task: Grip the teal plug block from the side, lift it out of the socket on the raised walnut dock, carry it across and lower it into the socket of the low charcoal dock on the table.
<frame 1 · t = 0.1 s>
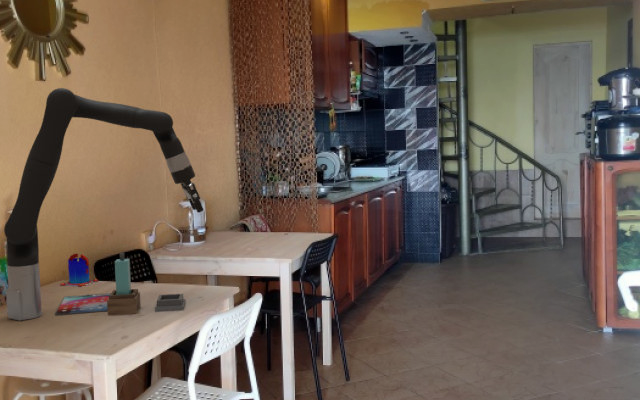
hand: (198, 210, 223), 31 cm above the table, tool tilted 20°, fingers open, 8 cm apart
plug block: (123, 295, 211), point 5 cm above the table, touching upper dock
lower dock: (170, 307, 215), on the table
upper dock: (124, 310, 211), on the table
fantasy tower: (79, 283, 252), on the table
tablet: (88, 305, 221), on the table
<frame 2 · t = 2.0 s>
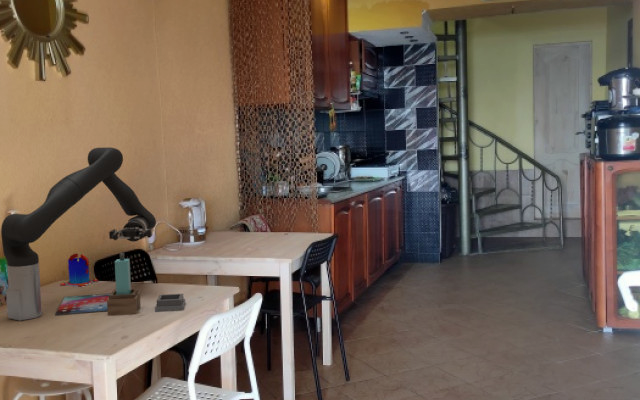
hand: (127, 236, 220), 23 cm above the table, tool horizontal, fingers open, 8 cm apart
nothing on the table moved.
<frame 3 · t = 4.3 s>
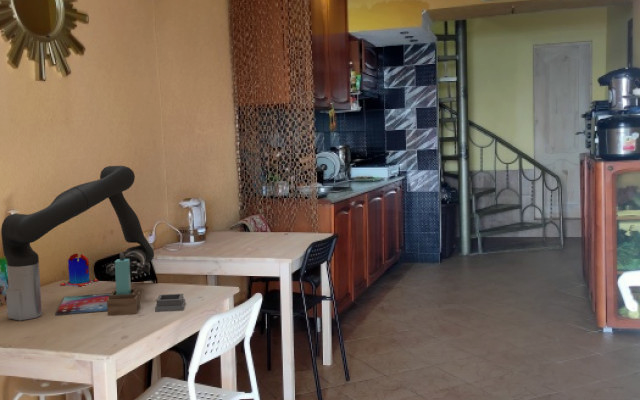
hand: (125, 272, 214), 12 cm above the table, tool horizontal, fingers open, 8 cm apart
nothing on the table moved.
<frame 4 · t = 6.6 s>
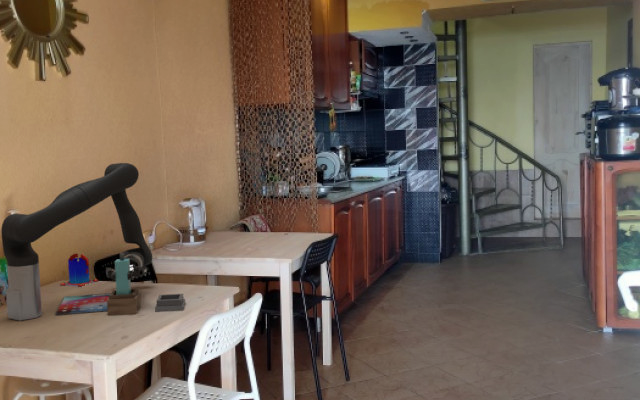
hand: (121, 277, 207), 12 cm above the table, tool horizontal, fingers closed on plug block, 4 cm apart
plug block: (123, 295, 211), point 5 cm above the table, touching gripper, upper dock
everything else where it was.
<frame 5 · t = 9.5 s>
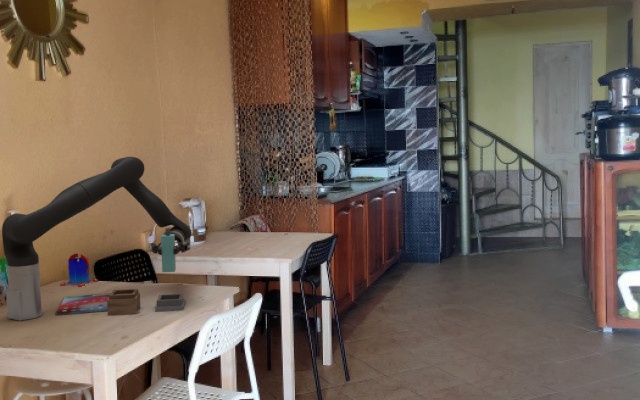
hand: (167, 251, 210), 20 cm above the table, tool horizontal, fingers closed on plug block, 4 cm apart
plug block: (169, 270, 213), point 13 cm above the table, touching gripper
everything else where it was.
when the fingers open (10 cm above the table, at t = 12.3 s): plug block drops 1 cm, resting on lower dock.
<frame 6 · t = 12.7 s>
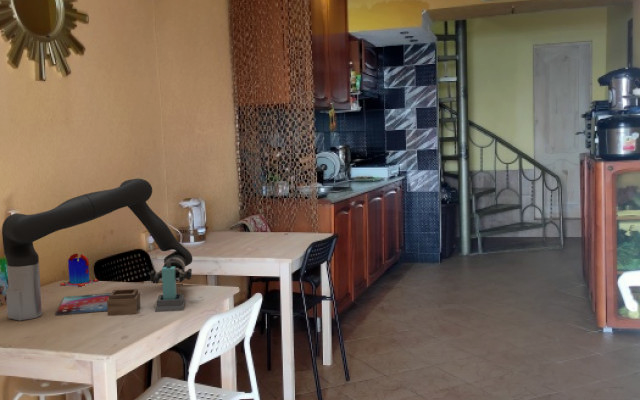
hand: (168, 279, 212), 10 cm above the table, tool horizontal, fingers open, 7 cm apart
plug block: (170, 302, 215), point 2 cm above the table, touching lower dock
everything else where it was.
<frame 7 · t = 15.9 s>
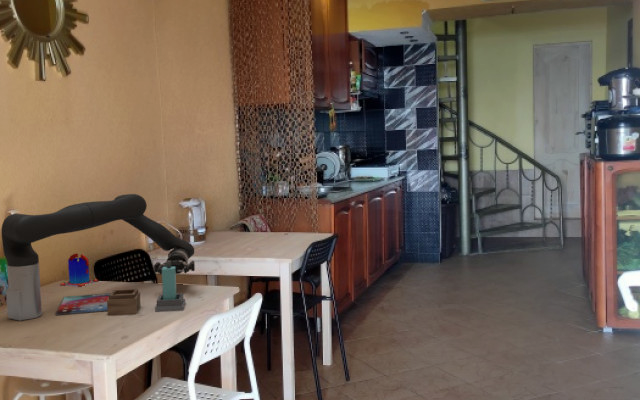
hand: (172, 270, 225), 10 cm above the table, tool horizontal, fingers open, 8 cm apart
nothing on the table moved.
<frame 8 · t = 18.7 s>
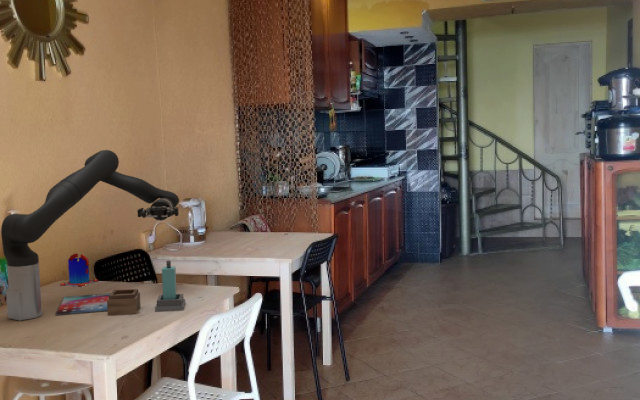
hand: (156, 214, 224), 30 cm above the table, tool horizontal, fingers open, 8 cm apart
nothing on the table moved.
at the end: plug block 0.1 cm off-centre on the lower dock, point 1.5 cm above the lower dock's base; plug block tilted 0°; the gripper is holding nothing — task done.
